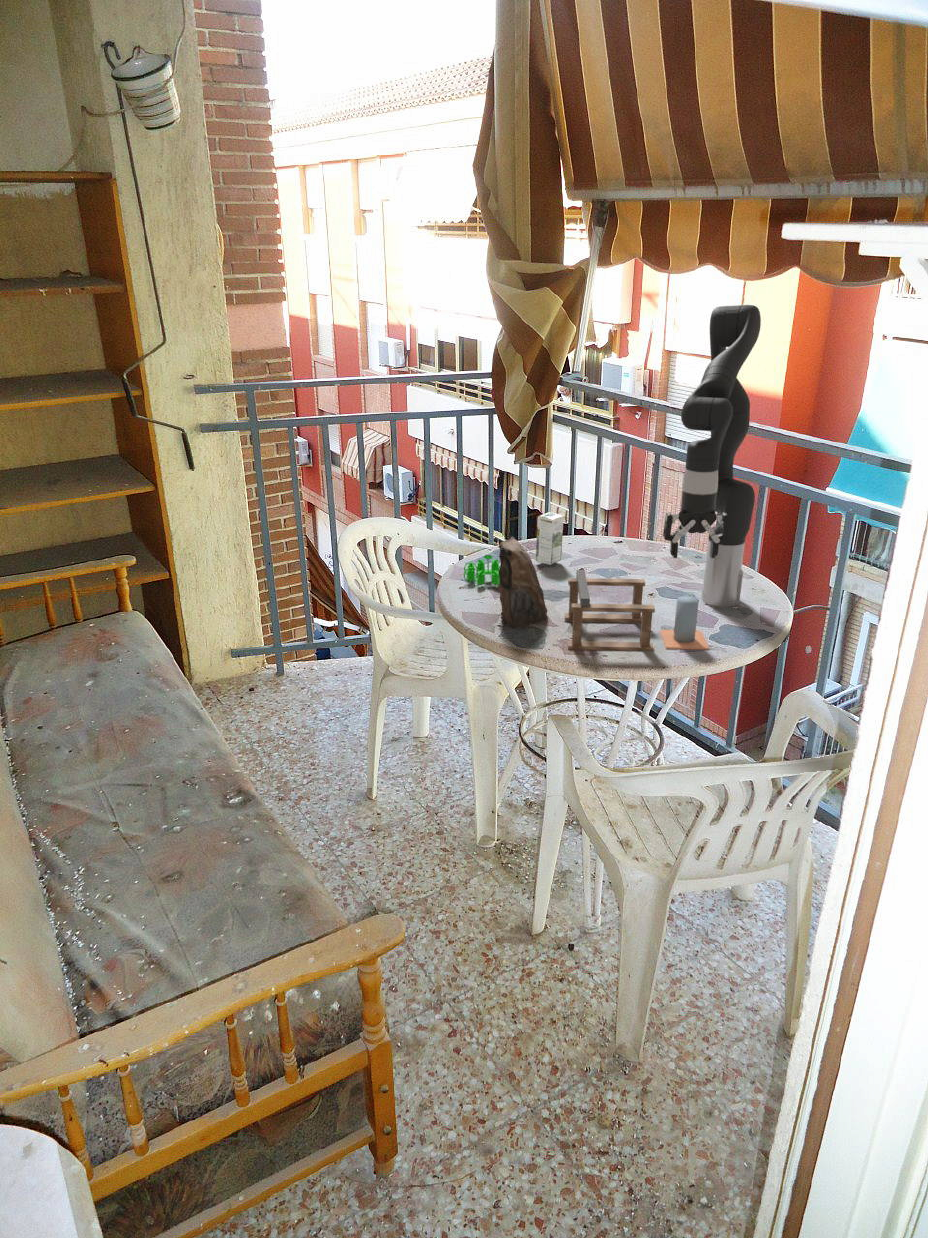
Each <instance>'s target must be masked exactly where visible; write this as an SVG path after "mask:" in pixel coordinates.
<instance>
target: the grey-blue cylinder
mask: <svg viewBox="0 0 928 1238" xmlns="http://www.w3.org/2000/svg"><path fill="white" fill-rule="evenodd" d="M699 601H700V600H699V599H698V598H697V597H694V596H689V595H684V596H683V595H682V596H678V597H677V598H676V604H675V605H676V606H675V615H674V616H675V617H674V625H673V626H674V627H673V630H674V637H673V638H674V640H676V641H678V642H681V643H691V642H693V641H694V640H695V632H696V631H697V622H698V621H697V620H698V613H699V611H698V610H699Z"/></svg>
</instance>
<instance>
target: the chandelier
mask: <svg viewBox="0 0 928 1238" xmlns="http://www.w3.org/2000/svg"><path fill="white" fill-rule="evenodd" d="M483 557H484V559H485V560H487V561H486V562H487V565H486V564H485V562H484V560H483V558H480V559H478V560H477V565H476V564H475V563H473V562H468V563H466V564H465V565H464V566H463V567H464V568H463V578H464V580H465V581H466V582H468V583H469V582H470V583H471V582H472V583H473V582H474V581H476V583H477V585H478V586H482V585H484V584H485V582H486V579H485V577H486V575H491V583H492V584H493V585H494V586H498V584H499V581H500V579H499V570H500V566H501V564H499V563H500V562H499V560H498V559H497V558H495V559H493V560H492V562H491V567H489V565H490V564H489V563H490V562H489V561H490V560H491V559H492V558H493V556H492V555H491V554H488V555H487V554H486V555H484V556H483ZM466 566H467V568H466ZM485 567H487V569H486V568H485ZM490 568H491V569H490Z"/></svg>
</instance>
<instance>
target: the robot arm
mask: <svg viewBox="0 0 928 1238" xmlns="http://www.w3.org/2000/svg"><path fill="white" fill-rule="evenodd" d="M759 309H760V308H758V306H757V305H752V304H738V305H722V306H716V307H715V308H713V310H712V312H711V314H710V320H709V346H710V347H709V348H710V362H709V364H708V365H707V367H706V368H705V371H704V373H703V375H702V378H701V382H699V383H700V384H699V385H698V386H697V387H696V388H695V390H694V391H693V392H692V393H690V395H689V396H688V398H687V399H686V400H685V402H684V404H683V406H682V409H681V412H680V413H681V414H680V419H681V423H682V424H683V426H684V427H685V428H687V429H688V430H692V431H705V432H710V437H709V438H706V439H700V440H694V441H691V442H689V444H688V445H687V448H686V458H685V469H684V473H683V479H682V492H681V503H680V511H679V513H678V514H676V513H671V512H666V513H665V517H664V518H665V519H664V525H663V532H662V533H663V534H662V537H663V539H664V540H665V541H669V542H670V546H669V547H670V548H669V554H670V556H672V558H673V559H678V553H679V552H678V550H679V542H678V541H680V539H681V538H682V537H684V536H685V535H686V534H687V533H689V534H696V533H697V534H698V533H699V534H704V533H706V532H707V533H708V538H707V548H706V549H707V550H706V558H705V565H704V566H705V567H704V573H703V574H704V576H703V584H702V592H701V601H702V602H703V603H704V604H706V605H709V606H712V607H717V608H727V607H733V606H739V605H740V599H741V594H742V585H743V578H744V571H743V570H742V568H743V567H742V566H743V560H744V559H743V558H744V550H745V544H746V537H747V536H748V533H749V531H750V528H751V524H752V518H753V512H754V509H755V508H754V507H755V499H756V498H755V497H756V496H755V490H754V488H753V486H752V485H751V484H750V483H748V482H745V481H743V480H742V481H741V480H738V479H735V478H734V461H735V456H736V453H737V451H738V450H739V448H740V447H741V445H742V444H743V441H744V440H745V438H746V436H747V434H748V432H749V428H750V422H751V421H750V419H751V417H750V416H751V415H750V413H751V411H750V410H751V402H750V398H749V396H748V394H747V392H746V390H745V388H744V387H743V385H742V384H741V382H740V380H739V379H738V375H739V373H740V370H741V368H742V366H743V365H744V363H745V362H746V360H747V359H748V358H749V355H750V353H752V350H753V349H754V347H755V344H756V343H757V341H758V338H759V336H760V331H761V326H762V325H761V323H762V322H761V321H762V318H761V312H760V310H759ZM717 513H718V514H717ZM717 520H718V523H719V524H720V525H715V526H713V524H714V523H715V522H716V521H717ZM676 521H679V523H680V524H679V525H678V527H677V528H676V530H675V531H673V533H671V532H672V527H673V524H675V523H676Z"/></svg>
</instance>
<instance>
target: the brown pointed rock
mask: <svg viewBox="0 0 928 1238" xmlns="http://www.w3.org/2000/svg"><path fill="white" fill-rule="evenodd" d="M498 548H499V555H498V557H499V561H500V562H499V563H500V565H501V566H500V565H499V566H500V570H499V584H498V585H497V588H496V589H497V591H498V593H499V601H500V605H501V613H500V615H501V617H500V619H502V620H501V621H502V622H501V623H503V622H504V623H505V624H504V623H503V624H504V625H506V624H508V625H507V626H509V625H510V626H509V627H510V628H512V627H513V628H512V629H519V628H518V627H520V628H523V627H525V626H529V625H531V624H534V623H538V622H542V621H543V620H546V619H548V618H549V617H548V614H547V613H548V608H547V605H546V602H545V597H544V591H543V588H542V587H541V584H540V581H539V577H538V574H537V571H536V567H535V566H534V564H533V561H532V559H531V557H530V556H529V554H528V552H527V550H526V549H525V547H524V548H523V546H522V544H520V542H519V541H518V540H517V539H515V537H514V536H510V538H509V539H507V540H502V541H501V542H500V543H499V545H498ZM522 626H523V627H522Z"/></svg>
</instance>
